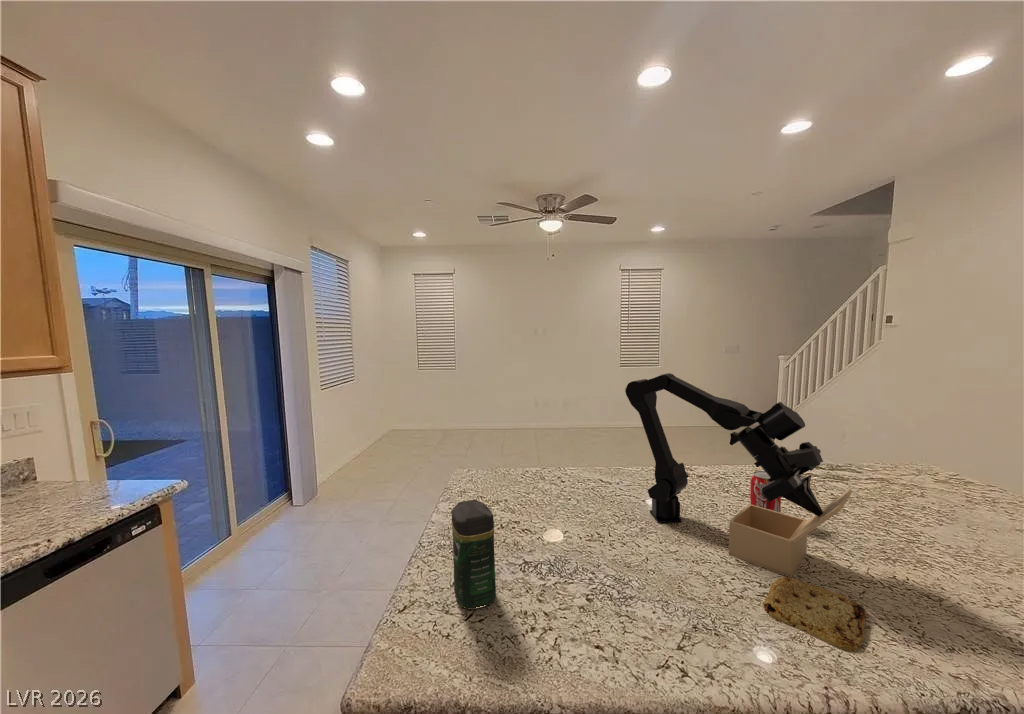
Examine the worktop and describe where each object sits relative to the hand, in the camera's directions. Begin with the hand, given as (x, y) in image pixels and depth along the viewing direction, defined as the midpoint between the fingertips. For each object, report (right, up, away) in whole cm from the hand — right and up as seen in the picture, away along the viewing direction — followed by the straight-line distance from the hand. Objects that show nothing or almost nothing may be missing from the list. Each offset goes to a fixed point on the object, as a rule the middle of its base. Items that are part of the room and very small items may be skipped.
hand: (821, 514), depth 83 cm
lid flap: (0, 0, 0) cm, 0 cm away
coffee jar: (-73, -15, -3) cm, 74 cm away
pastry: (-10, -14, -11) cm, 20 cm away
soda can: (+5, -11, +25) cm, 28 cm away
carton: (-6, -12, +8) cm, 16 cm away
